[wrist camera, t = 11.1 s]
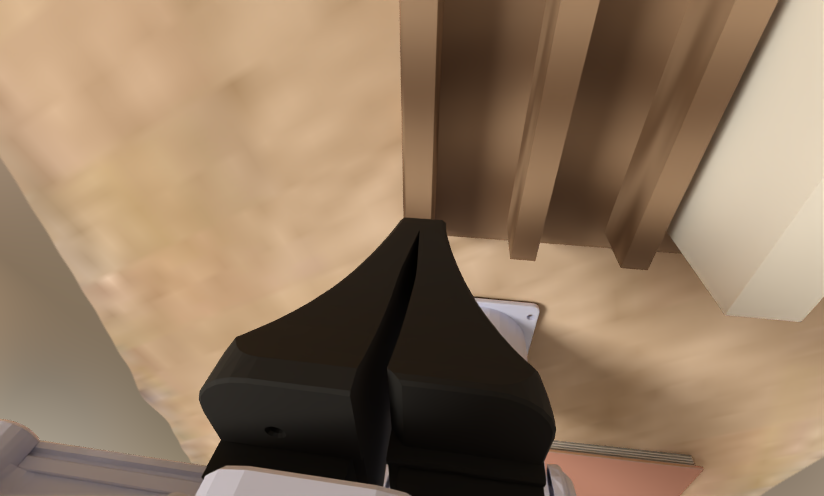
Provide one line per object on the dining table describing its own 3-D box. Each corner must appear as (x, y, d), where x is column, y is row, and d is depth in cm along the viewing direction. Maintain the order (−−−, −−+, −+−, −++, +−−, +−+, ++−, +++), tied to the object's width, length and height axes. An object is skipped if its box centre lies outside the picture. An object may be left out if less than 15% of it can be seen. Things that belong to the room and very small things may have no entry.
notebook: (407, 487, 48) (405, 505, 47) (399, 417, 38) (395, 437, 37) (637, 518, 45) (643, 538, 43) (694, 449, 34) (705, 472, 33)
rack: (725, 246, 21) (769, 296, 18) (406, 223, 23) (395, 264, 20) (1020, -231, 11) (1242, -309, 8) (400, -200, 13) (375, -251, 10)
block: (707, 216, 19) (800, 322, 14) (654, 213, 19) (725, 315, 14) (886, -110, 12) (1245, -172, 6) (797, -109, 12) (1066, -165, 7)
